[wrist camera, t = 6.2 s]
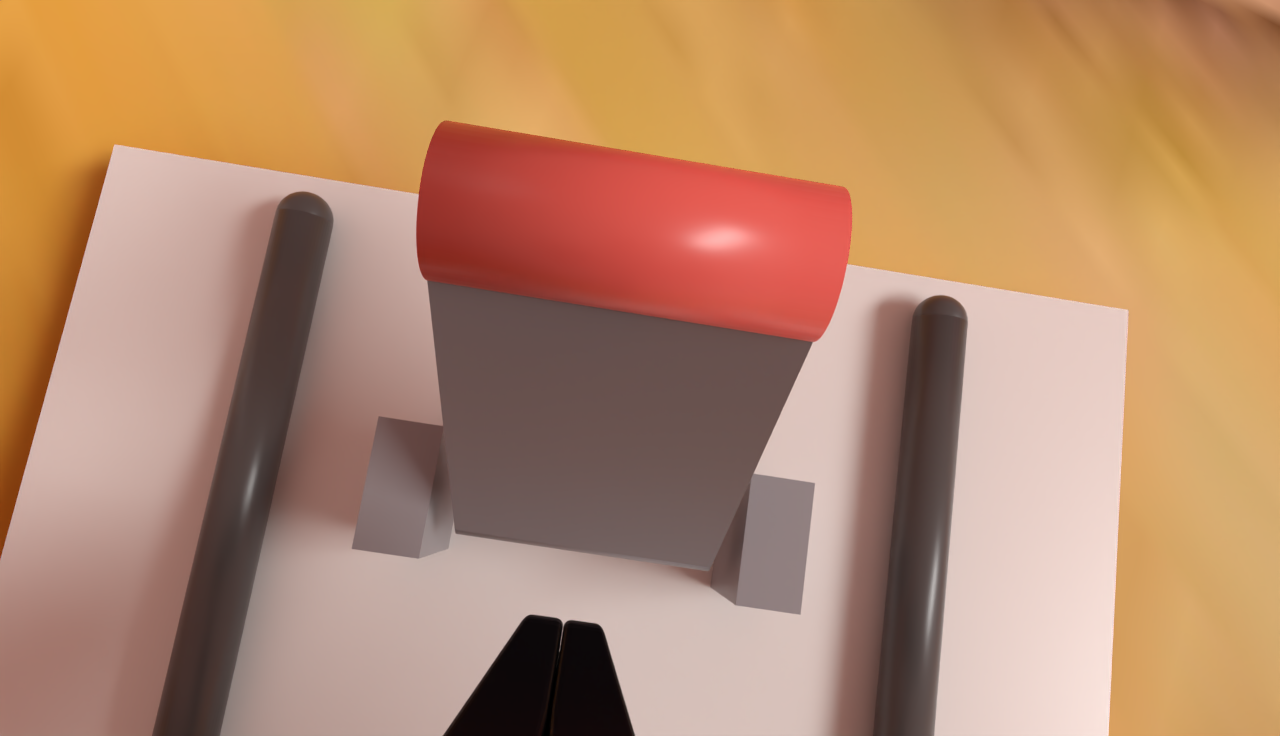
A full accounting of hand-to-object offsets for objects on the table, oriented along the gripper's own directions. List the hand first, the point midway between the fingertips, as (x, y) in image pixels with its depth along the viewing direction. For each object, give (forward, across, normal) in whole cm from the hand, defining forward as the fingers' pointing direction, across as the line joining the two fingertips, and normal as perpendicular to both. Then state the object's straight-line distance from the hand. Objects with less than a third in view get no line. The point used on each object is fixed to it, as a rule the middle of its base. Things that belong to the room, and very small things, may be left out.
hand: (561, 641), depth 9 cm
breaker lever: (+4, 0, +2) cm, 4 cm away
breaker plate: (+6, 0, +4) cm, 7 cm away
